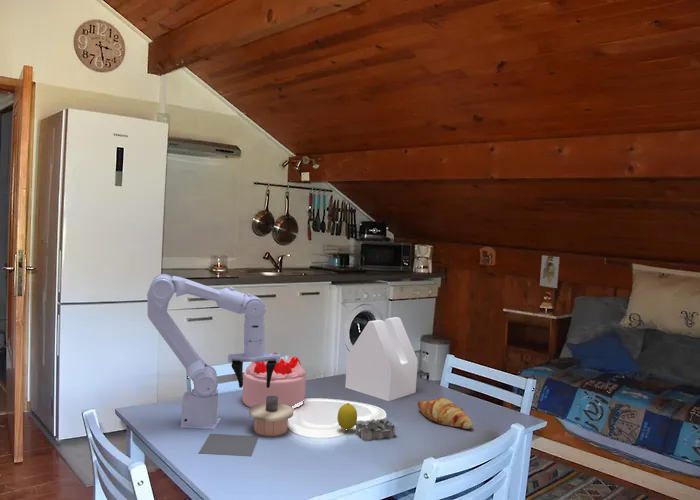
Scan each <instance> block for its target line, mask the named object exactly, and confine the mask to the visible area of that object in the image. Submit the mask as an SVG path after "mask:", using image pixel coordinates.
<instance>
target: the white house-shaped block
mask: <svg viewBox="0 0 700 500" xmlns="http://www.w3.org/2000/svg"><path fill="white" fill-rule="evenodd" d="M416 355H417V354H416V353H415V350H414V347H413V345H412V343H411V340H410V338H409V336H408V333H407V331H406V329H405V326H404V324H403V321H402V319H401V317H397V316H394V317H389V318H385V319H384V320H382V319H376V320H375V319H374V320H369V321H367V323H366V325H365V326H364V328H363V330H362V331H361V333H360V335H359V336H358V337H357V339H356V341H355V342H354V344H353V345H352V347H351V348H350V350H349V352H348V354H347V355H346V370H345V371H346V372H345V386H344V387H345V388H346V389H349V390H352V391H355V392H358V393H362V394H365V395H368V396H372V397H374V398H377V399H380V400H384V401H387V402H391V401H394V400H398V399H400V398H403V397H405V396H409V395H412V394H416V392H417V378H418V377H417V376H418V375H417V374H418V364H419V363H418V362H419V361H418V358H417V356H416Z"/></svg>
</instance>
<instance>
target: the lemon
mask: <svg viewBox="0 0 700 500" xmlns="http://www.w3.org/2000/svg"><path fill="white" fill-rule="evenodd" d="M357 421H358V412H357V409H356V408H355V406H354V405H353V404H351V403H350V402H347V403H344V404H342V405H341V406H340V407H339V409H338V411H337V423H338V426H339V427H340V428H342V427H343V428H345V429H347V430H348V431H349V430H351V429H353V428H354V427H356V425H355V424H356V422H357ZM343 428H342V429H343ZM345 429H344V430H345Z"/></svg>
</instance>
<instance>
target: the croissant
mask: <svg viewBox="0 0 700 500" xmlns="http://www.w3.org/2000/svg"><path fill="white" fill-rule="evenodd" d="M417 407H418V409H419V410H420V412H421V414H422V415H423V416H424V417H426V418H427V419H428V420H430V421H432V422H434V423H437V424H439V425H442V426H450V427H454V428H455V427H456V428H461V429H465V430H467V429H472V428H473V427H474V426H473V422H472V419H471V418H470V417H469V416H468V415H467V413H466V412H465V411H464V408H462V407H458V406H456V404H455V403H454V402H453V401H452V400H450V399H448V398H444V397H439V398H436V399H431V400H430V401H429V400H423V401H421V400H420V401H417Z"/></svg>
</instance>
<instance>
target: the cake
mask: <svg viewBox="0 0 700 500" xmlns="http://www.w3.org/2000/svg"><path fill="white" fill-rule="evenodd" d="M272 354H279V353H278V352H274V353H272ZM267 363H268V362H250V364H248V366H247V367H246V369H245V370H244V372H243V386H242V396H241V397H242V403H243V404H244V405H245V406H247V407H248V408H251V407H252V406H254V405H257V404H262V403H266V397H267V396H277V397H278V403H279V404H285V405H288V406H290V407H292V406H294V405H295V404H297V403H299V402H301V401H303V400H304V401H305V400H306V399H305V398H306V397H305V396H306V382H307V381H306V378H307V377H306V375H307V373H306V371H305V369H304V368H303V367H302V364H301V362H300V359H299V357H297V356H293V357H292V356H291V354H290V353H289V354H288V357H287V359H283V358H282V357H280V362H277V363H276V365H275V367H274V370H273V373H272V376H271V381H270V387H269V388H267V385H266V384H267V368H266V364H267Z"/></svg>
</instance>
